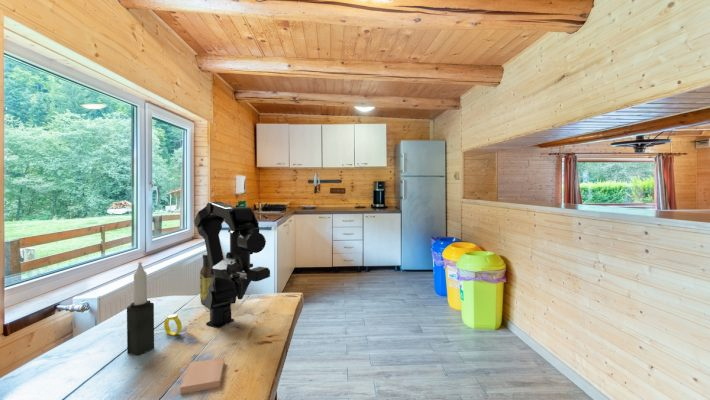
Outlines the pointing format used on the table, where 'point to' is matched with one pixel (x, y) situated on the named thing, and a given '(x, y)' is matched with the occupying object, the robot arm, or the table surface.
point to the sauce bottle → (205, 278)
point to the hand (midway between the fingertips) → (240, 299)
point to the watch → (178, 322)
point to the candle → (140, 317)
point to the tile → (202, 375)
